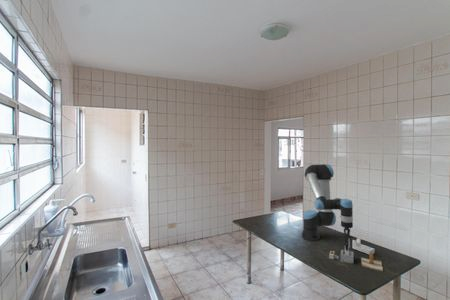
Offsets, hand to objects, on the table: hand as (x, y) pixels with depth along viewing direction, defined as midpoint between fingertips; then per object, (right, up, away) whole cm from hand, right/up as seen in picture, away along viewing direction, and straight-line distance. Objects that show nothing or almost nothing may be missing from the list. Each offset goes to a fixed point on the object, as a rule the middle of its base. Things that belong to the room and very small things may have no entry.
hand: (347, 250), depth 170 cm
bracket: (+19, -6, +13) cm, 24 cm away
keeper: (+13, -7, -7) cm, 16 cm away
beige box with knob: (-9, -7, +6) cm, 12 cm away
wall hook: (-6, -7, +4) cm, 10 cm away
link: (0, -7, +1) cm, 7 cm away
